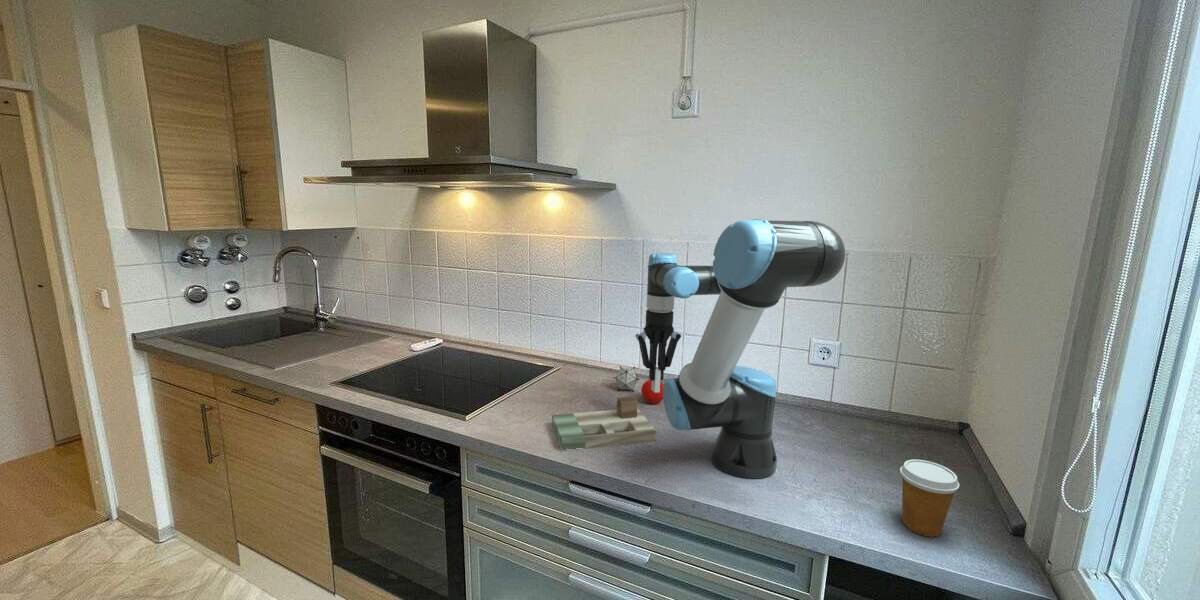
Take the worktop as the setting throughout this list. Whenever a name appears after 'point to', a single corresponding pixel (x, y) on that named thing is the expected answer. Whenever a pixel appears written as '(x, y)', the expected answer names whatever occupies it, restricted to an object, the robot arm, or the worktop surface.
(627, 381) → the game die
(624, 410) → the block
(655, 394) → the apple
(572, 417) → the shape sorter board
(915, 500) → the disposable coffee cup
